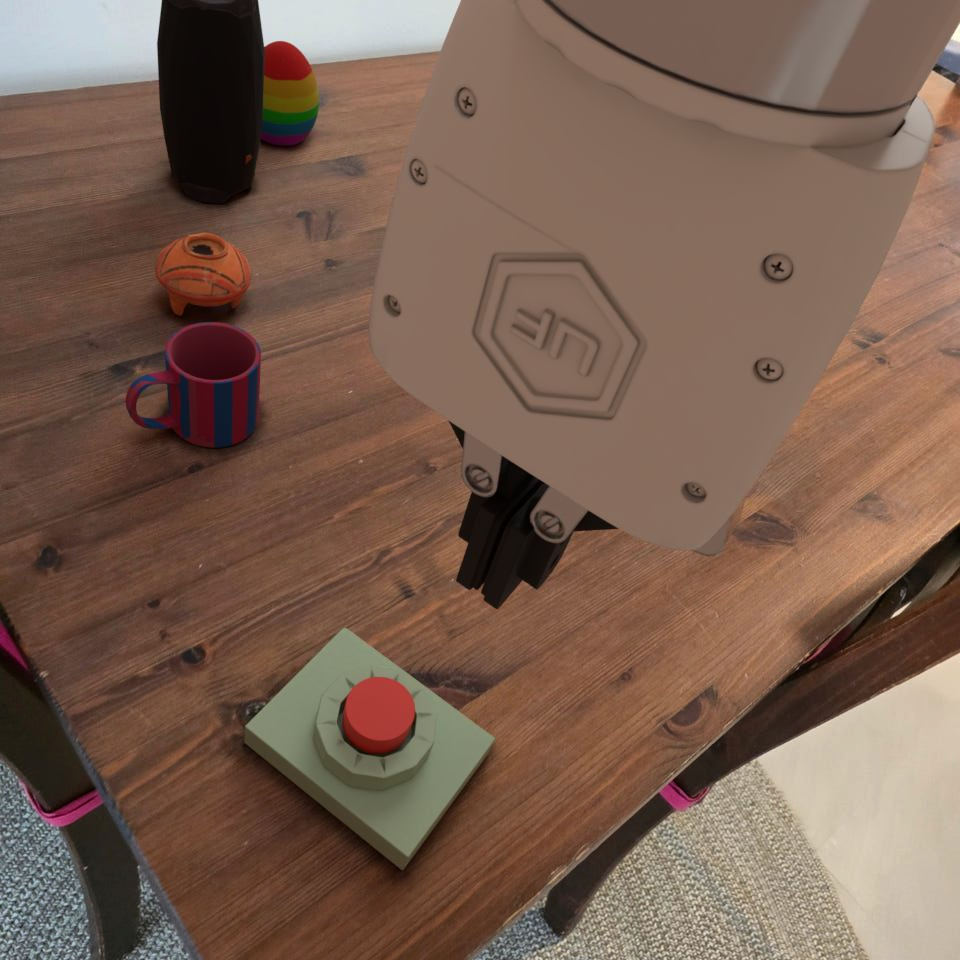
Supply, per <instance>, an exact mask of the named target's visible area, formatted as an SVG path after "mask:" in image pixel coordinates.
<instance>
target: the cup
mask: <svg viewBox="0 0 960 960" xmlns="http://www.w3.org/2000/svg"><path fill="white" fill-rule="evenodd" d="M164 357H165V358H164V359H165V361H164V362H165V371H164V370H163V371H155V372H151V373H148V374H144V375H143V376H140V377H138V378H137V379H136V380H134V381H133V382H132V383H131V385H130V386H129V387H128V389H127V391H126V395H125V407H126V410H127V413H128V415H129V417H130V419H131V420H132V421H133V422H134V423H135V424H136V425H138V426H139V427H141V428H144V429H147V430H166V429H172V430H173V431H174V432H175V433H176V435H177V436H178V437H180V438H181V439H182V440H184V441H186V442H188V443H190V444H193V445H195V446H199V447H203V448H210V449H216V448H217V449H219V448H225V447H231V446H234V445H237V444H239V443H242V442H243V441H245V440H246V439H248V438H249V437H250V436H251V435H252V434H253V433H254V431H255V430H256V428H257V426H258V423H259V413H260V412H259V411H260V392H261V391H260V390H261V385H260V384H261V368H262V367H261V365H262V351H261V347H260V345H259V343H258V342H257V339H255V338H254V336H252V335H251V334H250V333H249V332H248V331H245V330H244V329H242V328H240V327H238V326H235V325H232V324H229V323H224V322H217V321H204V322H196V323H193V324H189V325H186V326H183V327H181V328H180V329H178V330H177V331H175V332H174V333H173V334H172V335H171V336H170V337H169V338H168V340H167V341H166V344H165V348H164ZM158 384H162V385H163V384H164V385H166V389H167V390H166V391H167V407H168V414H166V415H163V416H159V417H151V418H150V417H144V416H140V415H139V414H138V411H137V403H138V399H139V397H140V396H141V394H142V393H143V392H144V390H146V389H147V388H149V387H151V386H153V385H158Z"/></svg>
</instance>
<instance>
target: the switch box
mask: <svg viewBox="0 0 960 960" xmlns="http://www.w3.org/2000/svg"><path fill="white" fill-rule="evenodd" d="M371 677H387V678H391V679H393V680H396V681H398V682H399V683H401V684H402V685H403V686H404V687H405V688H406V689H407V690H408V691H409V692H410V694H411V696H412V698H413V700H414V704H415V716H414V720H413V723H412V726H411V729H410V732H409V734H408V736H407V738H406V740H405V741H404V742H403V743H402V745H400V746H399V747H398V748H396V749H395V750H393V751H391V752H388V753H383V754H371V753H367V752H364V751H362V750H360V749H358V748H357V747H355V746H354V745H353V744H352V743H351V742H350V741H349V740H348V738H347V737H346V735H345V732H344V729H343V724H342V718H343V712H344V708H345V703H346V699H347V697H348V694H349V693H350V691H351V690H352V688H353V687H354V686H355V685H357V684H358V683H359V682H361V681H363V680H365V679H368V678H371ZM243 736H244V739H243V740H244V741H243V742H244V744H245V745H247V746H248V747H249V748H250V749H251V750H253V751H254V752H255V753H256V754H258V755H259V757H261V758H263V759H264V760H265V761H266V762H267V763H269V764H270V765H271V766H272V767H273V768H275V769H276V770H278V771H279V772H280V773H281V774H282V775H284V776H285V777H286V778H287V779H289V780H290V781H291V782H292V783H293V784H295V785H296V787H298V788H300V789H301V790H302V791H303V792H304V793H306V794H307V795H308V796H309V797H311V798H312V799H313V800H314V801H316V802H317V803H318V804H319V805H321V806H322V807H323V808H324V809H326V810H327V811H328V812H329V813H331V814H332V815H333V816H334V817H335V818H336V819H337V820H339V821H340V822H342V823H343V824H344V825H345V826H347V827H348V828H349V829H350V830H351V831H353V832H354V834H357V835H358V836H359V837H360V838H361V839H363V840H364V841H365V842H366V843H368V844H369V845H370V846H371V847H372V848H374V849H375V850H376V851H378V853H379V854H381V855H382V856H383V857H384V858H386V859H387V860H389V861H390V862H391V863H392V864H394V865H395V867H397V868H398V869H400V870H401V871H404V870H405V868H406V867H407V865H408V864H409V863H410V862H411V860H412V859H413V857H414V856H415V855H416V853H417V852H418V850H419V849H420V848H421V846H422V845H423V844H424V842H425V841H426V840H427V839H428V837H429V836H430V834H431V833H432V832H433V830H434V828H436V826H437V825H438V823H439V822H440V820H441V819H442V818H443V816H444V815H445V814H446V813H447V811H448V810H449V808H450V807H451V805H452V804H453V803H454V802H455V800H456V798H458V796H459V794H460V793H461V792H462V790H463V789H464V788H465V786H466V785H467V783H468V782H469V781H470V779H471V778H472V777H473V775H474V774H475V773H476V771H478V769H479V767H480V766H481V765H482V764H483V762H484V761H485V759H486V757H487V756H488V755H489V753H490V751H491V750H492V747H493V746H494V743H495V741H496V737H494V736H493V735H491V734H490V733H489V732H488V731H486V730H485V729H483V728H482V727H481V726H479V725H478V724H477V723H475V722H474V721H473V720H471V719H470V718H469V717H467V716H466V715H464V714H463V713H462V712H461V711H459V710H458V709H457V708H455V707H453V706H452V705H451V704H450V703H448V702H447V701H446V700H444V699H443V698H442V697H440V696H439V695H438V694H437V693H435V692H434V691H432V690H431V689H429V688H428V687H427V686H426V685H424V684H422V683H421V682H420V681H418V680H417V679H416V678H414V677H413V676H412V675H411V674H409V673H408V672H407V671H405V670H404V669H403V668H402V667H400V666H398V665H397V664H396V663H395V662H393V661H391V660H390V659H388V657H386V656H385V655H384V654H383V653H381V652H380V651H378V650H376V649H375V648H374V647H373V646H372V645H370V644H369V643H367V642H366V641H364V639H362V638H360V637H359V636H358V635H356V634H355V633H354V632H352V631H351V630H350V629H348V628H347V627H346V626H343V627H342V628H341V629H339V631H338V632H337V633H336V634H335V635H334V636H333V637H332V638H331V639H330V640H329V641H328V642H327V643H326V644H325V645H324V646H323V647H322V648H321V650H319V651H318V652H317V653H316V654H315V655H314V656H313V657H312V658H311V659H310V660H309V661H308V662H307V663H306V664H305V665H304V666H303V667H302V669H300V670H299V671H298V672H297V673H296V675H294V676H293V677H292V678H291V679H290V680H289V681H288V682H287V683H286V684H285V685H284V686H283V687H282V689H280V690H279V691H278V692H277V693H276V694H275V695H274V696H273V697H272V698H271V699H270V700H269V701H268V703H266V705H265V706H263V708H262V709H260V711H258V712H257V714H255V715H254V716H253V717H252V718H251V720H250V721H248V722H247V723H246V724H245V725H244V735H243Z"/></svg>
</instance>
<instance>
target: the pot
mask: <svg viewBox="0 0 960 960" xmlns="http://www.w3.org/2000/svg"><path fill="white" fill-rule="evenodd" d="M154 274H155V278H156V279H157V281H158V282H159V283H160V285H161V286H163V288H165V289H166V290H167V292H168V297H169V303H170V306H171V309H172V311H173V313H174V315H176V316H182V315H183V314H184V311H185V307H186V306H187V305H188V304H190V305H195V306H198V307H219V306H223V305H226V304H229V303H231V308H232V309H235V308H236V307H238V306H239V305H240V304H241V301H242V299H243V296H244V294H245V292H247V290H248V289H249V287H250V284H251V281H252V269H251V265H250V263H249V262H248V260H247V258H246V257H245V255H244V254H243V253H242V252H241V251H240V250H239V249H238V248H237V247H236V246H234V245H233V244H232V243H230V242H228V241H227V240H225V239H224V238H223V237H222V236H220V235H217V234H215V233H210V232H199V233H195V234H188V235H185V236H183V237H180V238H178V239H176V240H173V241H172V242H170V243H169V244H167V245H166V246H165V247H164V248H163V249H162V250H161V251H160V252H159V253H158V254H157V257H156V258H155V260H154Z"/></svg>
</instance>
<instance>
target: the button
mask: <svg viewBox="0 0 960 960" xmlns="http://www.w3.org/2000/svg"><path fill="white" fill-rule="evenodd" d="M414 716H415V704H414V700H413V698H412V696H411V694H410V692H409V691H408V690H407V689H406V688H405V687H404V686H403V685H402V684H401V683H399V682H398V681H396V680H393V679H391V678H387V677H371V678H368V679H365V680H363V681H361V682H359V683H358V684H357V685H355V686H354V687H353V688H352V690H351V691H350V693H349V694H348V697H347V699H346V703H345V708H344V712H343V718H342V724H343V729H344V732H345V735H346V737H347V738H348V740H349V741H350V742H351V743H352V744H353V745H354V746H355V747H357V748H358V749H360V750H362V751H364V752H367V753H371V754H383V753H388V752H391V751H393V750H395V749H396V748H398V747H399V746H400V745H402V743H403V742H404V741H405V740H406V738H407V736H408V734H409V732H410V729H411V726H412V723H413V720H414Z"/></svg>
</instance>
